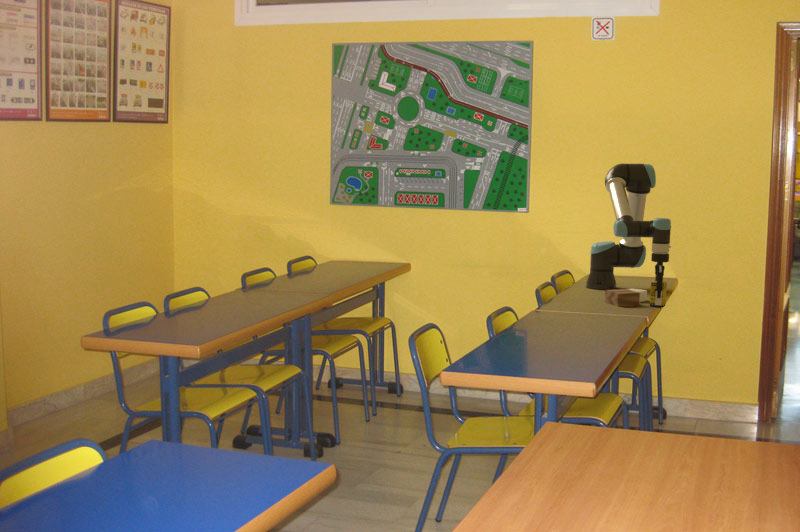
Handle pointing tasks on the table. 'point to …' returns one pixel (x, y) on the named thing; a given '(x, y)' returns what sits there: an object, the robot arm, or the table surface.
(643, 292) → the off-white block
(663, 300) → the supplement box
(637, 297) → the walnut block
